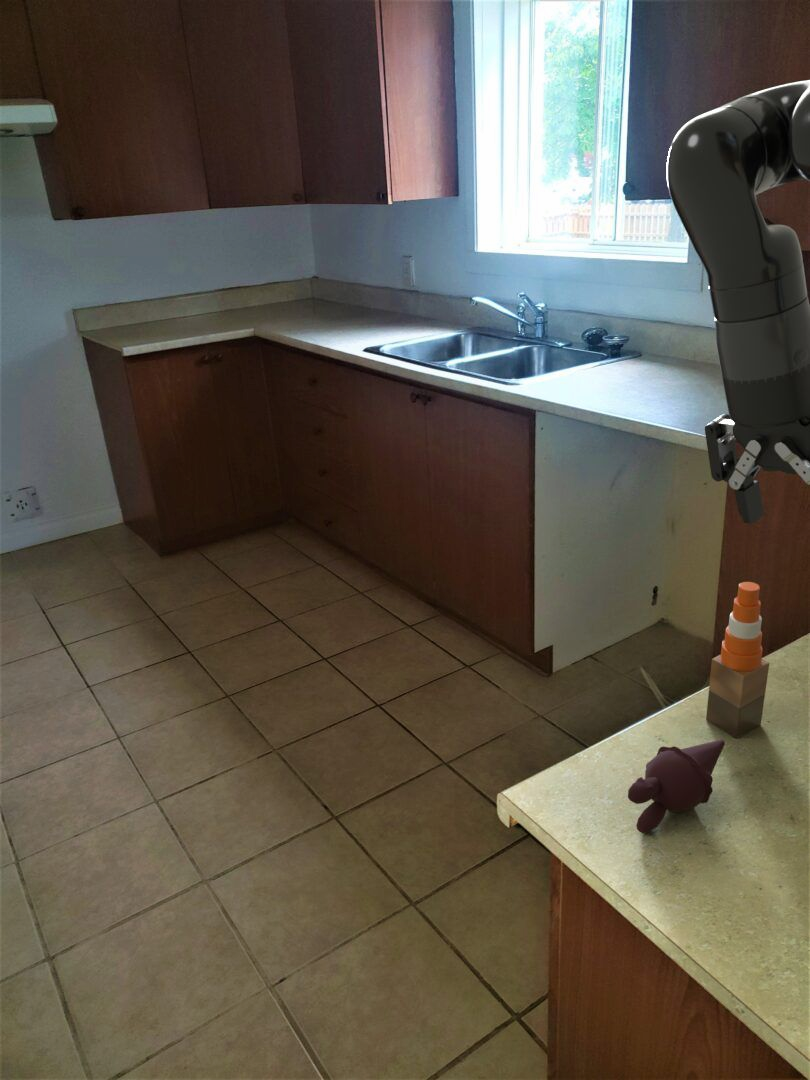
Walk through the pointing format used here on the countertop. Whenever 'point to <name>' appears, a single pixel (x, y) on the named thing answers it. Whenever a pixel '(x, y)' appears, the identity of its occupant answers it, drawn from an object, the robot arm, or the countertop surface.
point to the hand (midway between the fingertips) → (795, 527)
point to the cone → (744, 631)
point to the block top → (738, 682)
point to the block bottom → (734, 714)
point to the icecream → (675, 781)
